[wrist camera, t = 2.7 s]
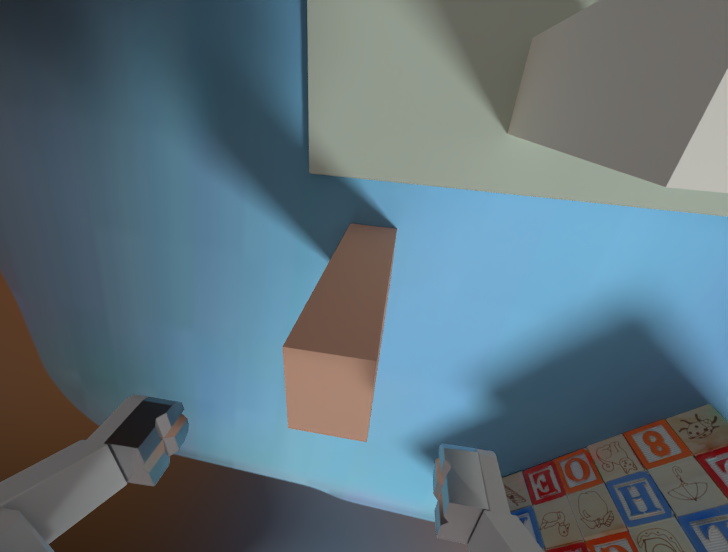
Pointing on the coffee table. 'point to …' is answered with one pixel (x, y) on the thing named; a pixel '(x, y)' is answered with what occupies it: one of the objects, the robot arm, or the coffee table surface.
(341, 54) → the mat
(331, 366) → the domino
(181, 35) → the coffee table surface
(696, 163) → the domino
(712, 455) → the stack of blocks
